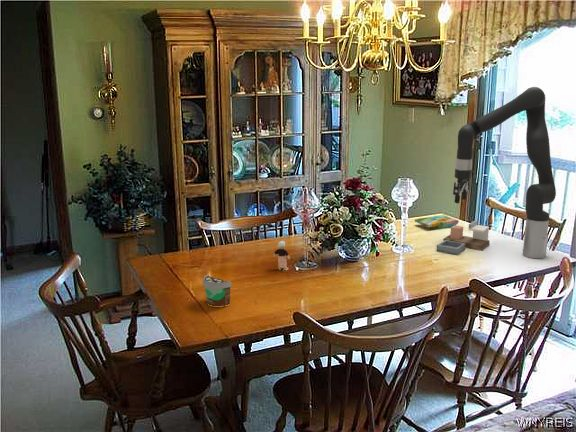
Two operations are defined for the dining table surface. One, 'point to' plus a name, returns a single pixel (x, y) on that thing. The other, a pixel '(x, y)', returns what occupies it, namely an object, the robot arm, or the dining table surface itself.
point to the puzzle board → (471, 242)
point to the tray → (451, 247)
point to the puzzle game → (437, 222)
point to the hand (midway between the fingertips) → (460, 201)
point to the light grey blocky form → (479, 231)
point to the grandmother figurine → (282, 256)
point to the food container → (217, 291)
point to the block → (456, 232)
